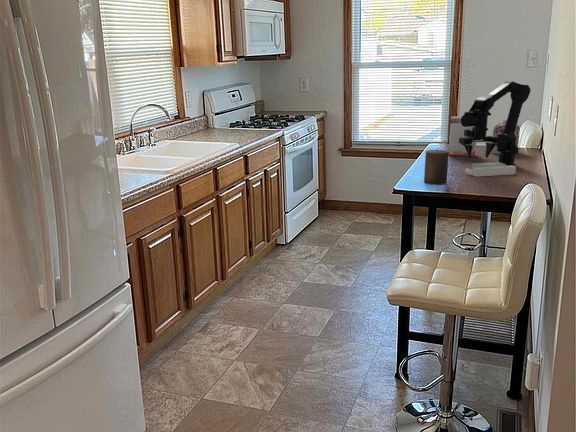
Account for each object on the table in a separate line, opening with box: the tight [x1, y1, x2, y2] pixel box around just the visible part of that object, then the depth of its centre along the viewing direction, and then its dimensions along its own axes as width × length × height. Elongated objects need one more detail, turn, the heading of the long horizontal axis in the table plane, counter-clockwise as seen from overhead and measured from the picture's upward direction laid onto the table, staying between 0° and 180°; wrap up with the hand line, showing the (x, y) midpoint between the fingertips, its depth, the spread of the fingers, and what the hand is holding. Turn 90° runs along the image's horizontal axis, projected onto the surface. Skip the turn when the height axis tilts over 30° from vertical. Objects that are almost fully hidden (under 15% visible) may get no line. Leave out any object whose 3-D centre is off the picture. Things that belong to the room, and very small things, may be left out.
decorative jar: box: [490, 119, 521, 155], centre depth 313 cm, size 12×12×18 cm
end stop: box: [464, 165, 517, 178], centre depth 264 cm, size 21×9×4 cm, turn 102°
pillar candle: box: [423, 147, 450, 186], centre depth 246 cm, size 10×10×15 cm
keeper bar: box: [470, 161, 506, 170], centre depth 265 cm, size 14×6×4 cm, turn 102°
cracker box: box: [448, 115, 477, 157], centre depth 307 cm, size 14×6×21 cm, turn 72°
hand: (477, 158), depth 273 cm, fingers open, 9 cm apart
